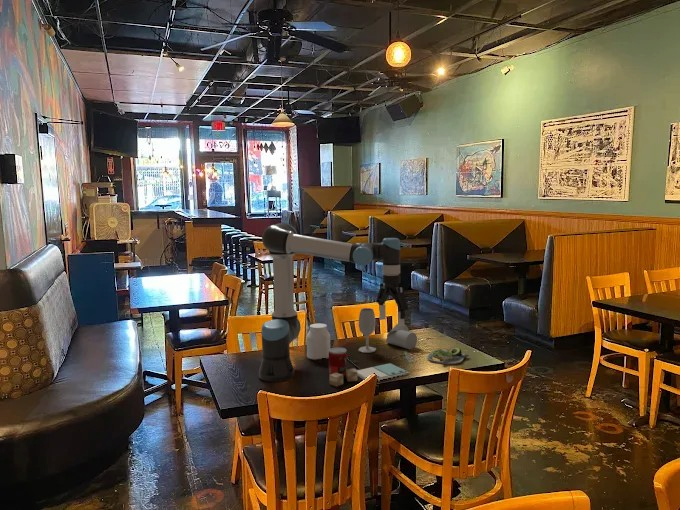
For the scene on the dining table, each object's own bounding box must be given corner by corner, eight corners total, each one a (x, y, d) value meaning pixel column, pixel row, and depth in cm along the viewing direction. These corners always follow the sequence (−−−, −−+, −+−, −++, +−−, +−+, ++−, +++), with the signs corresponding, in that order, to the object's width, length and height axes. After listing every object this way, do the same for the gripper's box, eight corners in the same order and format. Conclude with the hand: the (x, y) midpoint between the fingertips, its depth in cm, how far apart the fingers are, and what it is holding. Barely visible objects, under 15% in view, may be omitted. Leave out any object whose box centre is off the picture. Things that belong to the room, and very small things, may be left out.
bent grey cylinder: (374, 340, 265) (402, 349, 250) (377, 320, 265) (406, 328, 250) (397, 341, 276) (425, 349, 261) (400, 322, 277) (428, 329, 261)
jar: (308, 360, 239) (308, 329, 237) (305, 353, 248) (304, 324, 246) (332, 357, 242) (332, 327, 240) (328, 351, 251) (327, 322, 249)
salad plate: (460, 369, 224) (460, 359, 224) (421, 364, 232) (421, 354, 232) (470, 356, 241) (470, 347, 241) (433, 352, 250) (433, 342, 249)
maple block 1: (336, 386, 206) (336, 377, 205) (329, 384, 209) (329, 374, 208) (343, 384, 209) (343, 374, 208) (336, 381, 211) (336, 372, 211)
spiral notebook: (370, 383, 209) (370, 380, 208) (352, 373, 221) (352, 370, 220) (408, 374, 219) (408, 371, 218) (389, 364, 231) (389, 362, 230)
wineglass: (379, 349, 253) (379, 308, 251) (370, 354, 246) (370, 312, 243) (364, 347, 258) (363, 306, 255) (355, 351, 251) (354, 310, 248)
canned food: (341, 379, 214) (340, 353, 213) (325, 375, 218) (324, 350, 217) (350, 373, 220) (350, 349, 219) (335, 370, 225) (334, 346, 223)
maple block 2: (348, 381, 211) (347, 372, 211) (346, 378, 215) (346, 369, 215) (357, 381, 212) (357, 371, 211) (355, 377, 216) (355, 368, 215)
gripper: (417, 277, 209) (416, 327, 211) (381, 269, 230) (382, 315, 233) (402, 279, 205) (402, 330, 207) (368, 271, 226) (368, 317, 229)
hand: (391, 322), depth 220 cm, fingers open, 13 cm apart
